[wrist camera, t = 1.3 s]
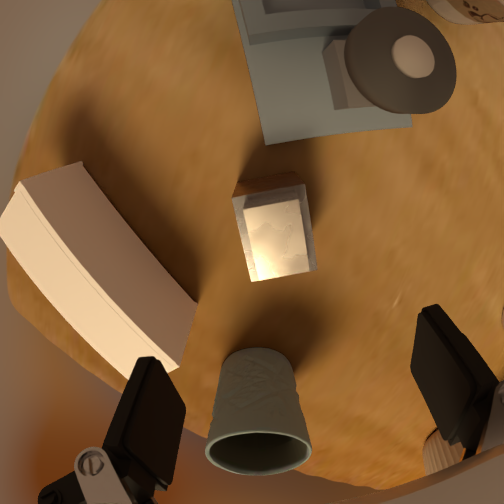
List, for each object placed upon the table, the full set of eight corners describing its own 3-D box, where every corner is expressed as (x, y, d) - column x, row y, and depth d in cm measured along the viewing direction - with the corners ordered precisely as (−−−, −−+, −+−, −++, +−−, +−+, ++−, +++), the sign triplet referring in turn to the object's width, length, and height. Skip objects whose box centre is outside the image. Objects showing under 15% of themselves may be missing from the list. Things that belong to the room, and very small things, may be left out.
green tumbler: (217, 337, 32) (203, 427, 21) (308, 343, 33) (324, 431, 22) (216, 394, 36) (206, 472, 25) (292, 399, 37) (300, 476, 26)
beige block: (294, 171, 25) (307, 187, 19) (305, 240, 28) (320, 277, 21) (237, 182, 26) (230, 202, 19) (252, 250, 28) (251, 290, 22)
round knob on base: (399, 34, 16) (446, 10, 10) (416, 112, 18) (470, 114, 12) (319, 34, 16) (345, 0, 10) (338, 118, 19) (373, 116, 13)
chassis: (347, -67, 15) (362, -93, 10) (404, 126, 23) (436, 129, 18) (215, -58, 16) (207, -88, 11) (265, 144, 24) (267, 148, 19)
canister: (480, 425, 45) (510, 491, 25) (413, 462, 49) (434, 533, 29) (486, 389, 39) (530, 470, 19) (405, 435, 42) (434, 527, 23)
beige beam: (52, 196, 26) (-7, 225, 18) (82, 160, 25) (19, 180, 16) (169, 333, 32) (147, 395, 24) (206, 311, 31) (190, 376, 22)
